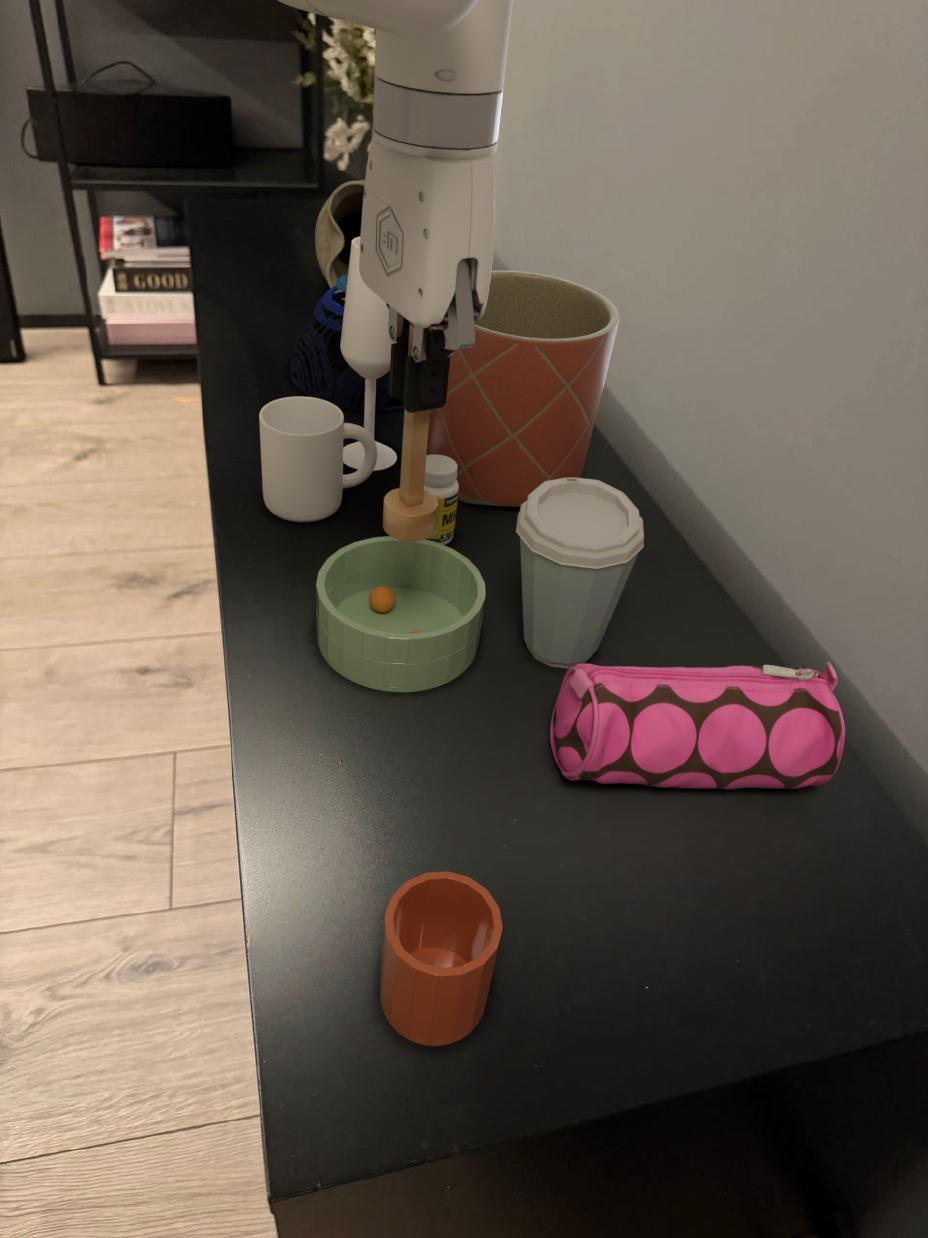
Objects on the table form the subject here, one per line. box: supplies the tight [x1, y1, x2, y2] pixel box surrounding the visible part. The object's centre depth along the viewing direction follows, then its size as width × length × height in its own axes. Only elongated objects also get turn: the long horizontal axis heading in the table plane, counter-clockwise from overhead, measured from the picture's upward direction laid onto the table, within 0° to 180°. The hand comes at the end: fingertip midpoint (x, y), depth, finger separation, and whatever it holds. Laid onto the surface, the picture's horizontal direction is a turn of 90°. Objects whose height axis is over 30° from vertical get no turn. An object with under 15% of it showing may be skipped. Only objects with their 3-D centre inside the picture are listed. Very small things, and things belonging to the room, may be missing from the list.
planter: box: [427, 270, 620, 508], centre depth 101 cm, size 19×19×20 cm
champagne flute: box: [339, 237, 398, 472], centre depth 99 cm, size 7×7×24 cm
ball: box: [369, 586, 395, 613], centre depth 84 cm, size 2×2×2 cm
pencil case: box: [549, 661, 846, 790], centre depth 71 cm, size 21×10×10 cm, turn 97°
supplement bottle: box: [424, 454, 459, 546], centre depth 93 cm, size 5×5×8 cm
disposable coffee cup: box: [515, 477, 645, 669], centre depth 79 cm, size 11×11×15 cm
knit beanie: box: [289, 274, 405, 413], centre depth 118 cm, size 20×20×14 cm
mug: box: [258, 396, 377, 523], centre depth 95 cm, size 12×8×10 cm
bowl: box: [315, 535, 486, 693], centre depth 81 cm, size 14×14×6 cm
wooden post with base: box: [382, 324, 438, 541], centre depth 68 cm, size 4×4×16 cm
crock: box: [379, 870, 504, 1047], centre depth 55 cm, size 7×7×8 cm
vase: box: [314, 179, 365, 302], centre depth 144 cm, size 22×22×28 cm
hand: (417, 400), depth 66 cm, fingers closed on wooden post with base, 1 cm apart
